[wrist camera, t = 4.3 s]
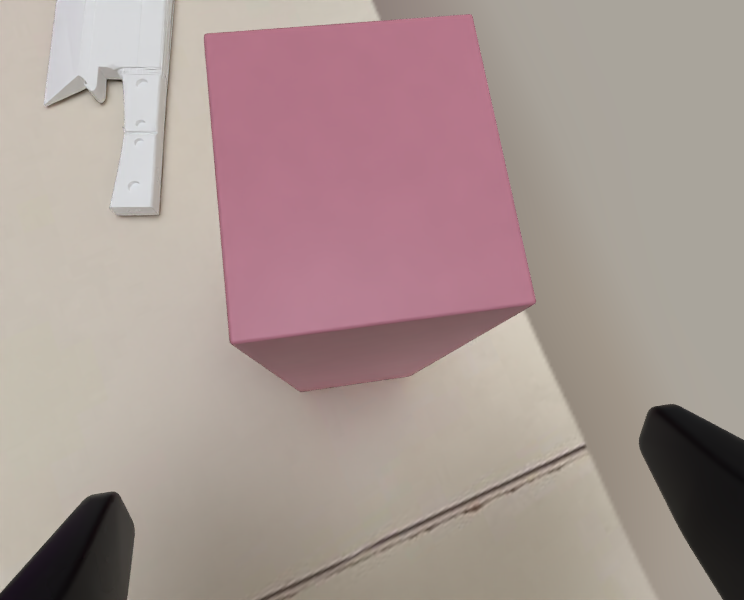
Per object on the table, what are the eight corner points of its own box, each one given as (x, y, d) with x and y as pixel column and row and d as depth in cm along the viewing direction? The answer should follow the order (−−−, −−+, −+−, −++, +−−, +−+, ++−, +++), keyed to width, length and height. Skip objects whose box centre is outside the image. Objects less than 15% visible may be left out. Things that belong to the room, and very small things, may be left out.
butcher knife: (30, 216, 20) (12, 205, 19) (71, -81, 24) (58, -105, 23) (159, 215, 21) (149, 204, 19) (181, -78, 24) (173, -102, 23)
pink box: (410, 376, 20) (537, 303, 7) (299, 392, 19) (228, 345, 7) (391, 256, 21) (473, 12, 8) (285, 269, 21) (202, 32, 8)
